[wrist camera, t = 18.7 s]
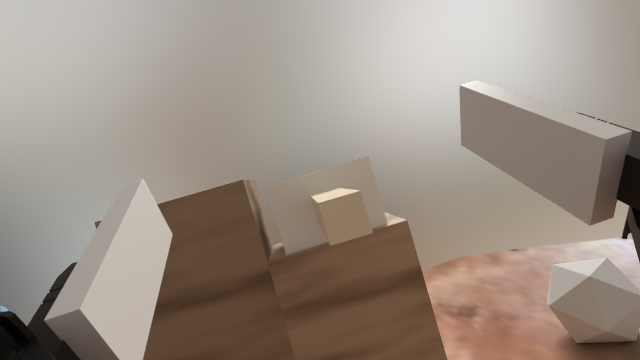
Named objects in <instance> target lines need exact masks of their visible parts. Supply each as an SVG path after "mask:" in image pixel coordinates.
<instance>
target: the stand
mask: <svg viewBox="0 0 640 360" xmlns="http://www.w3.org/2000/svg"><path fill="white" fill-rule="evenodd" d="M157 206H158V208H159V209H160V211H161V213H162V215H163V217H164V219H165V221H166V223H167V225H168V226H169V228H170V230H171V232H172V234H173V235H172V240H171V244H170V248H169V252H168V256H167V261H166V265H165V269H164V273H163V277H162V281H161V286H160V290H159V294H158V298H157V302H156V306H155V311H154V315H153V319H152V323H151V327H150V332H149V336H148V340H147V344H146V348H145V352H144V357H143V360H447V357H446V353H445V350H444V347H443V343H442V340H441V336H440V333H439V329H438V326H437V322H436V319H435V315H434V312H433V308H432V305H431V301H430V298H429V295H428V291H427V288H426V284H425V281H424V277H423V274H422V270H421V267H420V263H419V260H418V256H417V253H416V249H415V246H414V243H413V239H412V236H411V232H410V229H409V225H408V222H407V220H405V219H402V218H399V217H396V216H393V215H390V214H387V213H385V212H384V213H385V216H386V220H387V223H388V224H386V225H383V226H380V227H376V228H373V229H372V231H373V233H371V234H368V235H365V236H362V237H358V238H355V239H352V240H349V241H345V242H342V243H339V244H335V245H332V246H330V244H329V242H327V243H324V244H321V245H317V246H314V247H311V248H307V249H304V250H301V251H298V252H294V253H291V254H288V255H286V253H285V250H284V246H283V243H280V244H277V245H273V242H272V239H271V235H270V232H269V228H268V225H267V221H266V218H265V215H264V211H263V208H262V204H261V201H260V198H259V194H258V191H257V187H256V184H255V181H254V180H240V181H237V182H233V183H230V184H226V185H223V186H220V187H216V188H213V189H209V190H206V191H202V192H199V193H195V194H192V195H188V196H185V197H182V198H178V199H174V200H171V201H167V202H164V203H160V204H157ZM101 221H102V220H101ZM101 221H98V222H95V225H96V229H97V228H98V226H99V224H100V222H101Z"/></svg>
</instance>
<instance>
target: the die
mask: <svg viewBox="0 0 640 360" xmlns="http://www.w3.org/2000/svg"><path fill="white" fill-rule="evenodd" d="M547 304H548V305H549V307H550V308H551V309H552V311H553V312H554V313H555V315H556V316H557V318H558V319H559V320H560V322H561V323H562V324H563V326H564V327H565V328H566V330H567V331H568V333H569V334H570V335H571V337H572V338H573V339H574V341H575V342H576V343H598V342H623V341H636V340H637V336H638V332H639V328H640V290H639V289H638V288H637V287H636V286H635V285H634V284H633V283H632V282H631V281H630V280H629V279H628V278H627V277H626V276H625V275H624V274H623V273H622V272H621V271H620V270H619V269H618V268H617V267H616V266H615V265H614V264H613V263H612V262H611V261H610V260H609V259H608V258H602V259H594V260H585V261H577V262H569V263H561V264H553V265H552V271H551V278H550V284H549V291H548V297H547Z"/></svg>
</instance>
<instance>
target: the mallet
mask: <svg viewBox="0 0 640 360" xmlns="http://www.w3.org/2000/svg"><path fill="white" fill-rule="evenodd" d="M266 188H267V192H268V195H269V199H270V202H271V205H272V209H273V212H274V215H275V219H276V223H277V226H278V229H279V233H280V236H281V240H282V243H283V246H284V250H285V253H286V255H288V254H291V253H294V252H298V251H301V250H304V249H307V248H311V247H314V246H317V245H321V244H324V243H327V242H329V244H330V246H332V245H335V244H339V243H342V242H345V241H349V240H352V239H355V238H358V237H362V236H365V235H368V234H371V233H373V231H372V229H373V228H376V227H380V226H383V225H386V224H388V223H387V220H386V216H385V213H384V209H383V206H382V202H381V199H380V196H379V192H378V189H377V185H376V182H375V178H374V175H373V171H372V168H371V164H370V161H369V158H368V157H365V158H361V159H358V160H354V161H351V162H348V163H344V164H340V165H337V166H334V167H330V168H327V169H323V170H320V171H317V172H313V173H310V174H306V175H303V176H299V177H296V178H292V179H289V180H285V181H282V182H278V183H275V184H271V185H268V186H266Z"/></svg>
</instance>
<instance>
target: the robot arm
mask: <svg viewBox="0 0 640 360" xmlns="http://www.w3.org/2000/svg"><path fill="white" fill-rule="evenodd" d="M460 114H461V115H460V118H461V145H462V146H464V147H466V148H467V149H469V150H470V151H472V152H473V153H475V154H477V155H478V156H480V157H481V158H483V159H485V160H486V161H488V162H489V163H491V164H493V165H494V166H496V167H497V168H499V169H501V170H502V171H504V172H506V173H507V174H509V175H510V176H512V177H513V178H515V179H517V180H518V181H520V182H521V183H523V184H525V185H526V186H528V187H529V188H531V189H532V190H534V191H536V192H537V193H539V194H540V195H542V196H544V197H545V198H547V199H548V200H550V201H552V202H553V203H555V204H557V205H558V206H560V207H561V208H563V209H564V210H566V211H567V212H569V213H571V214H572V215H574V216H575V217H577V218H579V219H580V220H582V221H584V222H585V223H587V224H588V225H593V224H596V223H599V222H602V221H604V220H608V219H611V218H613V216H614V212H615V207H616V203H617V199H618V200H620V201H621V202H623V203H625V204H627V205H629V209H628V213H627V217H626V222H625V226H624V230H623V235H622V239H627V236H628V234H629V233H631V234H632V237H633V241H634V244H635V248H636V251H637V255H638V258H639V262H640V132H637V131H634V130H631V129H628V128H625V127H622V126H619V125H616V124H613V123H607V122H606V121H604V120H600V119H595V118H594V117H591V116H588V115H585V114H582V113H576V112H572V111H569V110H566V109H563V108H560V107H557V106H554V105H551V104H548V103H545V102H542V101H539V100H536V99H532V98H530V97H526V96H524V95H520V94H517V93H514V92H511V91H508V90H505V89H502V88H499V87H496V86H493V85H490V84H487V83H484V82H481V81H478V80H475V81H472V82H468V83H465V84H461V85H460ZM172 235H173V234H172V232H171V230H170V228H169V226H168V225H167V223H166V221H165V219H164V217H163V215H162V213H161V211H160V209H159V208H158V206H157V204H156V202H155V200H154V198H153V196H152V194H151V192H150V190H149V189H148V187H147V185H146V183H145V181H144V179H143V178H141V179H138V180H135V181H131V182H128V183H124V184H122V186H121V188H120V189H119V191H118V193H117V195H116V196H115V198H114V200H113V202H112V203H111V205H110V207H109V208H108V210H107V212H106V214H105V215H104V217H103V219H102V221H101V222H100V224H99V226H98V228H97V229H96V231H95V233H94V234H93V236H92V238H91V240H90V241H89V243H88V245H87V247H86V249H85V250H84V252H83V254H82V255H81V257H80V259H79V260H78V262H76V263H73V264H71V265H70V266H69V267H68V268H67V269H66V270H65V271H64V272H63V273H62V274H60V276H59V277H58V278H57V279H56V281H55V282H54V284H53V286H52V287H51V289H50V293H48V294H47V295H46V297H45V299H44V300H43V304H41V305H40V307H39V308H38V310H37V312H36V313H35V315H34V316H33V318H32V320H31V321H30V323H29V324H28V326H26V325H25V324H24V323H23V322H22V321H21V320H20V319H19V318H18V317H17V315H16V314H15V313H12V312H10V311H8V310H7V309H6V308H4V307H3V306H0V360H143V357H144V352H145V348H146V344H147V340H148V336H149V332H150V327H151V323H152V319H153V315H154V311H155V306H156V302H157V298H158V294H159V290H160V286H161V281H162V277H163V273H164V269H165V265H166V261H167V256H168V252H169V248H170V244H171V240H172Z"/></svg>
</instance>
